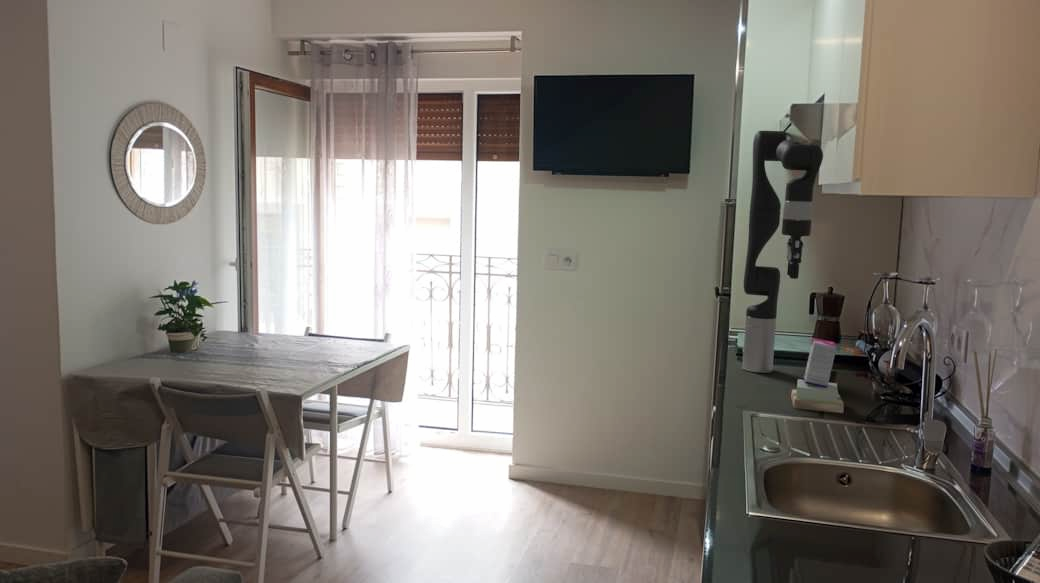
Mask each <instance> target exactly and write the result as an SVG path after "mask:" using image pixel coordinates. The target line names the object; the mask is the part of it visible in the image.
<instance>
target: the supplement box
mask: <svg viewBox="0 0 1040 583" xmlns="http://www.w3.org/2000/svg"><path fill="white" fill-rule="evenodd" d="M836 350H837V345H836V343H835V341H831V340H825V339H820V338H815V337H813V338H812V341H811V345H810V350H809V355H808V358H807V363H806V367H805V371H804V375H803V380H804V381H805V384H809V385H815V386H820V387H825V388H827V386H828V383H830V381H829V380H830V378H831V372H832V368H833V364H834V360H835V356H836V353H837V352H836Z"/></svg>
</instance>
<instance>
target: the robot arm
mask: <svg viewBox="0 0 1040 583" xmlns="http://www.w3.org/2000/svg"><path fill="white" fill-rule="evenodd" d="M752 144H753V146H752V182H751V183H752V184H751V194H750V195H751V196H750V205H749V217H748V237H747V238H748V240H747V253H746V258H745V265H744V266H745V268H744V274H743V290H744V293H745V294H746V295H750V296H764V297H767V298H766V300H764V301H762V302H760V303H757V304H753V305H750V306H748V307H747V308H746V311H745V313H746V314H745V326H744V342H743V352H742V353H743V354H742V367H741V368H742V370H744V371H747V372H751V373H760V374H762V373H765V374H766V373H772V372H773V364H774V353H775V343H776V342H775V341H776V340H775V339H776V326H777V314H778V313H777V312H778V311H777V310H778V298H779V293H780V292H779V291H780V285H781V272H780V269H779V268H778V267H776V266H762V265H761V266H759V265H756V264H757V260H758V258H759V255H760V254H761V252H762V251H763V250H764V247H765V246H766V244H767V243H768V242H769V241H770V240H771V238H772V237H773V236H774V235H775V233H776V232H777V230H778V229H779V226H780V223H781V235H783V236H790V238H788V241H787V242H786V248H787V249H786V258H787V259H786V260H787V262H788V263H787V274H786V275H787V276H789V279H794V280H795V279H796V280H797V279H798V278H799V272H800V264H801V263H802V257H803V248H804V242H803V240H802V239H801V238H802V237H810V236H811V234H812V233H811V232H812V222H813V221H812V219H813V194H814V186H815V182H816V179H817V175H818V173H819V170H820V168H821V165H822V161H823V158H824V153H823V149H822V148H821V146H819V145H818V144H811V143H810V144H807V143H801V142H799V141H797V140H795V138H794V137H793V136H792V135H791V134H790V133H788V132H786V131H782V130H758V131H757V132H756V133H755V135H754V138H753V143H752ZM765 162H780V163H781V164H782V165H781V166H782V167H783V169H785V170H787V171H805V173H804V175H803V176H802V177H799V178H792V179H790V180H788V181H787V182H786V183H785V184H786V186H785V195H784V197H785V198H784V205H783V210H782V212H783V213H782V222H780V221H781V209H782V205H781V201H780V198H779V197H778V193H776V192H777V191H775V189H774V188H773V186H772V184H771V182H770V179H769V177H768V176H767V171H766V164H765Z"/></svg>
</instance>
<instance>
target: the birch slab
mask: <svg viewBox="0 0 1040 583" xmlns="http://www.w3.org/2000/svg"><path fill="white" fill-rule="evenodd" d="M796 392H797V388H792V389H791V397H790V398H791V401H792V406H793V408H794V409H799V410H807V411H808V410H809V411H817V412H818V411H819V412H827V413H829V412H830V413H838V414H839V413H840V414H844V410H845V409H844V407H845V406H844V405H845V403H844V401H843V400H842V397H841V395H840V394H839V393H838V395H837V403H833V402H825V401H817V400H808V399H800V398H796Z"/></svg>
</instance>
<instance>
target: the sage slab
mask: <svg viewBox="0 0 1040 583" xmlns="http://www.w3.org/2000/svg"><path fill="white" fill-rule="evenodd" d="M796 389H797V392H796V398H800V399H808V400H817V401H825V402H833V403H837V395H838V394H839V391H838V383H836V382H828V386H827V388H825V387H820V386H815V385H809V384H805V381H804V379H799V378H798V379H797V385H796Z"/></svg>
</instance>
